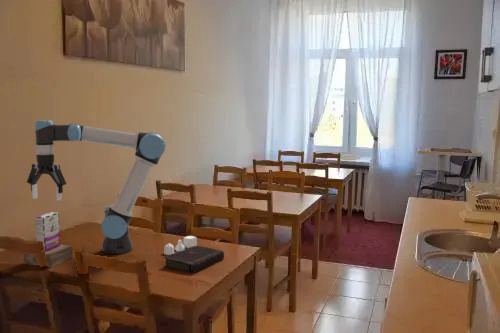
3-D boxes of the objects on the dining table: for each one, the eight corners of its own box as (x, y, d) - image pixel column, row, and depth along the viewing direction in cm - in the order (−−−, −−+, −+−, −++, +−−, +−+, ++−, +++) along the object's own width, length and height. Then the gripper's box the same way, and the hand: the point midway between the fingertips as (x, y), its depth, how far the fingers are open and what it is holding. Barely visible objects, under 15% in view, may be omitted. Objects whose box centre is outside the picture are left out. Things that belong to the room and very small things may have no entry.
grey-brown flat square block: (72, 258, 230) (72, 245, 229) (51, 267, 216) (50, 254, 215) (47, 254, 234) (46, 243, 234) (24, 263, 220) (23, 251, 220)
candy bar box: (51, 244, 230) (50, 211, 229) (60, 245, 229) (59, 212, 227) (35, 251, 220) (34, 216, 218) (45, 252, 218) (43, 217, 217)
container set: (189, 245, 255) (189, 235, 254) (196, 247, 252) (196, 237, 251) (161, 253, 239) (161, 243, 238) (168, 255, 236) (168, 245, 235)
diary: (224, 260, 231) (224, 250, 231) (194, 275, 210) (194, 264, 209) (193, 253, 240) (193, 244, 240) (161, 267, 219) (161, 257, 218)
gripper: (73, 154, 219) (74, 199, 222) (29, 152, 227) (31, 196, 229) (62, 155, 212) (63, 202, 214) (17, 153, 220) (19, 198, 222)
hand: (47, 199), depth 222 cm, fingers open, 13 cm apart
